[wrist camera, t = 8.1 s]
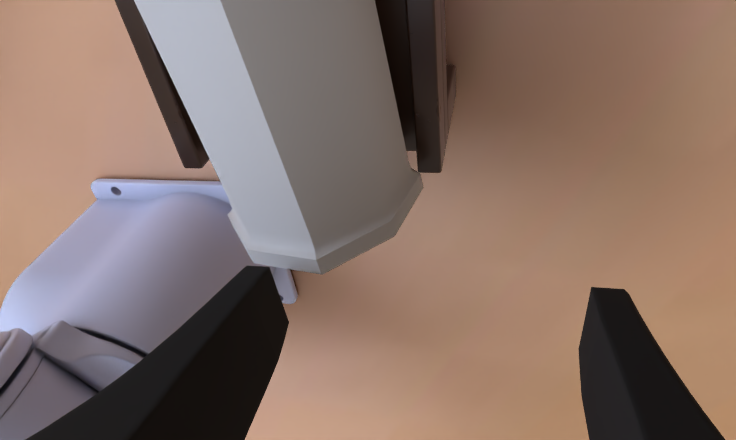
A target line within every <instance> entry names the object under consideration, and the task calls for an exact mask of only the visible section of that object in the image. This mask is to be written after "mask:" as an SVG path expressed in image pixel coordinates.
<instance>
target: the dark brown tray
mask: <svg viewBox="0 0 736 440" xmlns="http://www.w3.org/2000/svg"><path fill="white" fill-rule="evenodd" d="M115 2H116V5H117V7H118V9H119V12H120V14H121V17H122V19H123V21H124V24H125V26H126V29H127V31H128V33H129V36H130V38H131V41H132V43H133V46H134V48H135V50H136V53H137V55H138V58H139V60H140V62H141V65H142V67H143V70H144V72H145V74H146V77H147V79H148V82H149V84H150V86H151V89H152V91H153V94H154V96H155V98H156V101H157V103H158V106H159V108H160V110H161V113H162V115H163V118H164V120H165V122H166V125H167V127H168V130H169V132H170V134H171V137H172V139H173V142H174V144H175V146H176V149H177V151H178V154H179V156H180V158H181V161H182V163H183V166H184V167H185V168H202V167H203V166H204V165H205V164H206V163H207V161H208V160H209V156H208V154H207V152H206V150H205V148H204V146H203V144H202V142H201V140H200V138H199V135H198V133H197V131H196V129H195V127H194V125H193V123H192V121H191V119H190V117H189V115H188V112H187V110H186V108H185V106H184V104H183V102H182V100H181V98H180V96H179V94H178V91H177V89H176V87H175V85H174V83H173V81H172V79H171V77H170V75H169V73H168V70H167V68H166V66H165V64H164V62H163V60H162V58H161V56H160V54H159V52H158V50H157V47H156V45H155V43H154V41H153V39H152V37H151V35H150V33H149V31H148V29H147V26H146V24H145V22H144V20H143V18H142V16H141V14H140V12H139V10H138V8H137V5H136V3H135V1H134V0H115ZM375 4H376V9H377V13H378V18H379V23H380V28H381V32H382V37H383V42H384V47H385V51H386V56H387V61H388V66H389V71H390V75H391V80H392V85H393V90H394V94H395V99H396V104H397V109H398V114H399V118H400V123H401V128H402V133H403V137H404V142H405V147H406V151H416V152H417V165H418V172H421V173H440V172H441V171H442V166H443V160H444V155H445V149H446V144H447V139H448V133H449V129H450V123H451V118H452V113H453V108H454V102H455V97H456V67H455V65H446V39H445V4H444V0H375Z"/></svg>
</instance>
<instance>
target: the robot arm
mask: <svg viewBox="0 0 736 440" xmlns="http://www.w3.org/2000/svg"><path fill="white" fill-rule="evenodd" d="M91 189H92V191H93V193H94V195H95V197H96V198H97V200H96V201H95V202H94V203H93V204H92V205H91V206H90V207H89V208H88V209H87V210H86V211H85V212H84V213H83V214H82V215H81V216H80V217H79V218H78V219H77V220H75V221H74V222H73V223H72V224H71V225H70V226H69V227H68V228H67V229H66V230H65V231H64V232H63V233H62V234H61V235H60V236H59V237H58V238H57V239H56V240H55V241H54V242H53V243H52V244H51V245H50V246H49V247H48V248H47V249H46V250H45V251H43V252H42V253H41V254H40V255H39V256H38V257H37V258H36V259H35V260H34V261H33V262H32V263H31V264H30V265H29V266H28V267H27V268H26V269H25V270H24V271H23V272H22V273H21V274H20V275H19V276H18V278H17V279H16V280H15V281H14V283H13V284H12V286H11V287H10V289H9V290H8V293H7V295H6V297H5V299H4V301H3V304H2V307H1V310H0V440H245V437H246V435H247V433H248V430H249V428H250V426H251V423H252V421H253V419H254V416H255V414H256V412H257V410H258V407H259V405H260V403H261V400H262V398H263V396H264V393H265V391H266V389H267V386H268V384H269V382H270V379H271V377H272V374H273V372H274V370H275V367H276V365H277V362H278V359H279V356H280V353H281V349H282V346H283V343H284V339H285V335H286V331H287V328H288V324H289V321H288V318H287V315H286V313H285V310H284V307H283V304H282V303H285V304H293V303H295V301H296V299H297V297H298V294H297V291H296V287H295V284H294V281H293V278H292V274H291V271H290V269H285V268H279V267H273V266H266V265H260V264H255V263H253V261H252V260H251V258H250V256H249V254H248V253H247V251H246V249H245V247H244V245H243V244H242V242H241V240H240V238H239V237H238V235H237V233H236V231H235V230H234V228H233V226H232V224H231V221H230V219H229V217H228V215H227V214H228V213H229V212H230V211H231V210H232V207H231V204H230V201H229V198H228V196H227V194H226V192H225V190H224V188H223V186H222V184H221V182H220V181H184V180H143V179H102V178H99V179H96V180H95V181H94V182H92V183H91ZM579 363H580V379H581V393H582V400H583V406H584V412H585V417H586V423H587V429H588V434H589V440H725V439H724V437H723V436H722V435H721V434H720V432H719V431H718V430H717V428H716V427H715V426H714V424H713V423H712V422H711V420H710V419H709V418H708V416H707V415H706V414H705V412H704V411H703V410H702V408H701V407H700V406H699V404H698V403H697V401H696V400H695V399H694V397H693V396H692V395H691V393H690V392H689V390H688V389H687V387H686V386H685V384H684V383H683V381H682V380H681V379H680V377H679V376H678V374H677V373H676V371H675V370H674V368H673V367H672V365H671V364H670V362H669V361H668V359H667V358H666V356H665V355H664V353H663V352H662V350H661V348H660V347H659V345H658V344H657V342H656V340H655V339H654V337H653V336H652V334H651V332H650V331H649V329H648V327H647V326H646V324H645V322H644V321H643V319H642V317H641V315H640V314H639V312H638V310H637V308H636V306H635V305H634V303H633V301H632V299H631V297H630V295H629V294H628V293H627V292H626V291H625V290H624V289H611V288H596V287H591V292H590V297H589V302H588V307H587V311H586V316H585V321H584V326H583V331H582V336H581V340H580V345H579Z"/></svg>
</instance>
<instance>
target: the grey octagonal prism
mask: <svg viewBox="0 0 736 440" xmlns="http://www.w3.org/2000/svg"><path fill="white" fill-rule="evenodd" d="M134 1H135V3H136V5H137V8H138V10H139V12H140V14H141V16H142V18H143V20H144V22H145V24H146V26H147V29H148V31H149V33H150V35H151V37H152V39H153V41H154V43H155V45H156V47H157V50H158V52H159V54H160V56H161V58H162V60H163V62H164V64H165V66H166V68H167V70H168V73H169V75H170V77H171V79H172V81H173V83H174V85H175V87H176V89H177V91H178V94H179V96H180V98H181V100H182V102H183V104H184V106H185V108H186V110H187V112H188V115H189V117H190V119H191V121H192V123H193V125H194V127H195V129H196V131H197V133H198V135H199V138H200V140H201V142H202V144H203V146H204V148H205V150H206V152H207V154H208V156H209V159H210V161H211V163H212V165H213V167H214V169H215V171H216V173H217V175H218V177H219V180H220V182H221V184H222V186H223V188H224V190H225V192H226V194H227V196H228V198H229V201H230V204H231V207H232V210H231V211H230V212H229V213H228V214H227V215H228V217H229V219H230V221H231V224H232V226H233V228H234V230H235V231H236V233H237V235H238V237H239V238H240V240H241V242H242V244H243V245H244V247H245V249H246V251H247V253H248V254H249V256H250V258H251V260H252V261H253V263H255V264H260V265H266V266H273V267H279V268H285V269H291V270H297V271H304V272H310V273H316V274H322V275H323V274H325V273H326V272H328V271H330V270H332V269H334V268H336V267H338V266H340V265H341V264H343V263H345V262H347V261H349V260H351V259H353V258H355V257H357V256H358V255H360V254H362V253H364V252H366V251H368V250H370V249H372V248H373V247H375V246H377V245H379V244H381V243H383V242H385V241H387V240H389V239H390V238H392V237H394V236H395V235H396V233H397V231H398V230H399V228H400V226H401V225H402V223H403V221H404V219H405V218H406V216H407V214H408V213H409V211H410V209H411V208H412V206H413V204H414V202H415V201H416V199H417V197H418V196H419V194H420V192H421V191H422V189H423V184H422V179H421V175H420V173H418V172H417V171H415V170H414V169H412V168H411V167H410V164H409V161H408V156H407V152H406V147H405V142H404V137H403V133H402V128H401V123H400V118H399V114H398V109H397V104H396V99H395V94H394V90H393V85H392V80H391V75H390V71H389V66H388V61H387V56H386V51H385V47H384V42H383V37H382V32H381V28H380V23H379V18H378V13H377V9H376V4H375V0H134Z"/></svg>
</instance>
